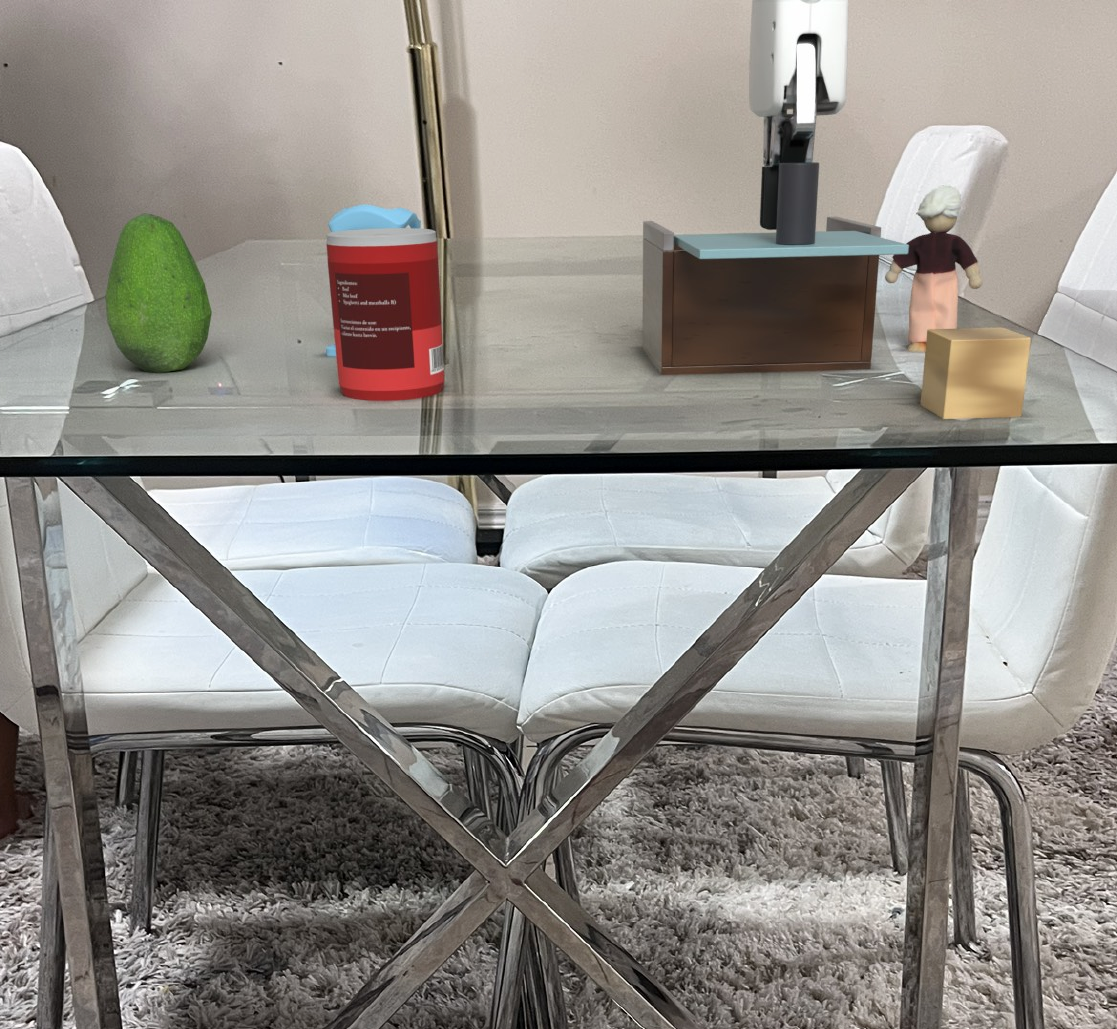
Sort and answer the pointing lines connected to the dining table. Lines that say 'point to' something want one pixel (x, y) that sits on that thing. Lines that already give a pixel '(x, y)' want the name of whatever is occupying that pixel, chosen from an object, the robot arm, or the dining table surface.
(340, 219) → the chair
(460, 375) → the dining table surface
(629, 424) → the dining table surface
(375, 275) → the canned food
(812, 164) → the lid
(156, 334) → the avocado
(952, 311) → the grandmother figurine
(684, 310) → the box
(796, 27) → the robot arm
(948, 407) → the block
